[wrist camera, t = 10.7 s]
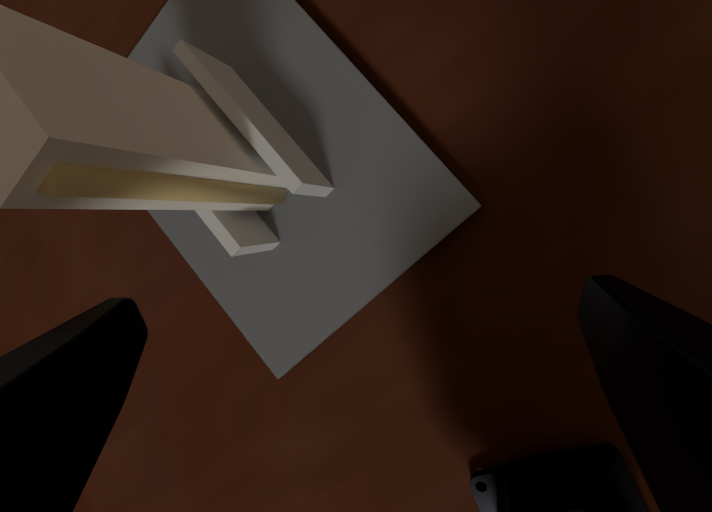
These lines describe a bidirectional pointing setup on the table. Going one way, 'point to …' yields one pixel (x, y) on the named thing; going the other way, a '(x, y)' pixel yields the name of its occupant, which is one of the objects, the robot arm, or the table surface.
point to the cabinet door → (114, 132)
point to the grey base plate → (300, 174)
